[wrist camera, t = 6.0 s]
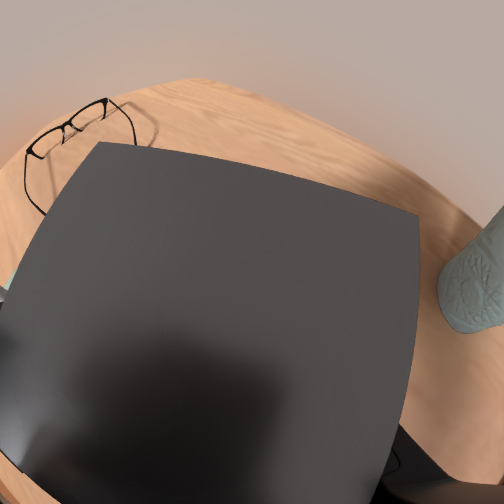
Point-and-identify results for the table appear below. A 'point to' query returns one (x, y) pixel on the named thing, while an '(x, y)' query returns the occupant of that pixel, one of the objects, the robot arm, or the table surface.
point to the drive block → (207, 335)
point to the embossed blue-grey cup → (475, 282)
